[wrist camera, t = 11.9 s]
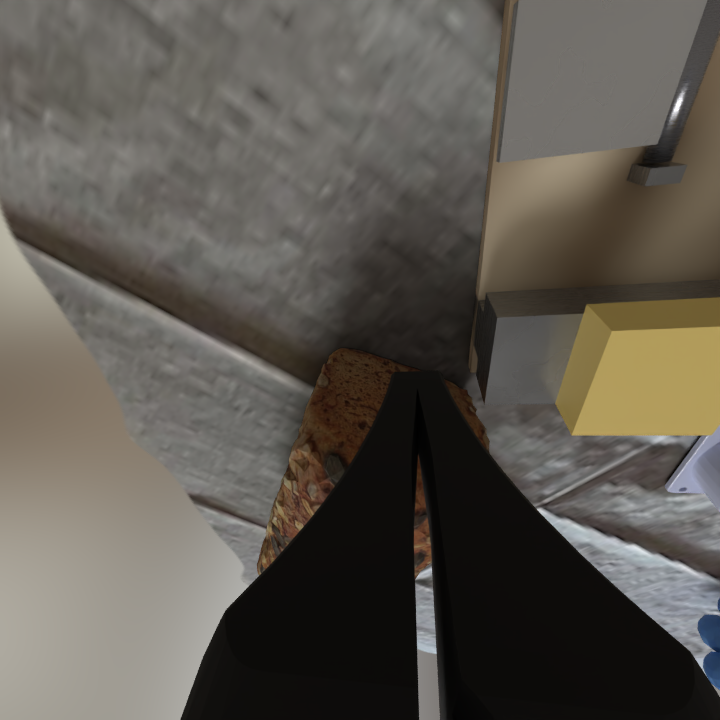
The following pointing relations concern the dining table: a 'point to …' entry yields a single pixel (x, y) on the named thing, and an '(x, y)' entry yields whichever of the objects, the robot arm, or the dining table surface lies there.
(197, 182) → the dining table surface
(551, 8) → the plate
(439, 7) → the dining table surface
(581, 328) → the pale yellow block
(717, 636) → the grapes
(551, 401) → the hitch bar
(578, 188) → the base board
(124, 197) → the dining table surface
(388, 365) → the bread
